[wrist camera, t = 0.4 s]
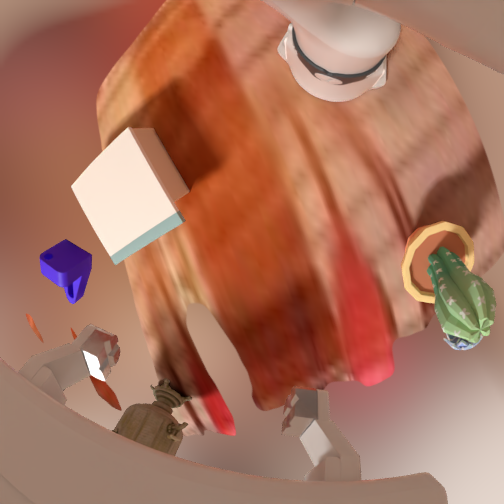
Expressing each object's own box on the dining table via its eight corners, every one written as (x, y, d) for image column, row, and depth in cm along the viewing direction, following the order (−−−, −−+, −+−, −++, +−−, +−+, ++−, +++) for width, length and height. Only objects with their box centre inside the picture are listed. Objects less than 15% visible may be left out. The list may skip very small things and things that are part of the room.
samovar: (230, 418, 80) (195, 518, 44) (170, 415, 88) (130, 496, 52) (187, 361, 70) (123, 481, 34) (126, 362, 78) (64, 451, 43)
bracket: (65, 239, 63) (36, 256, 52) (91, 254, 62) (62, 275, 52) (67, 287, 71) (44, 307, 60) (92, 303, 70) (68, 326, 60)
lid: (74, 185, 46) (70, 186, 45) (131, 126, 39) (127, 126, 38) (118, 262, 51) (115, 265, 50) (185, 220, 44) (182, 222, 43)
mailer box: (99, 176, 53) (76, 183, 46) (153, 127, 46) (130, 128, 39) (130, 231, 57) (109, 244, 50) (190, 191, 50) (171, 201, 43)
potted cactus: (375, 264, 48) (411, 357, 26) (414, 193, 41) (490, 248, 19) (430, 292, 48) (475, 378, 26) (468, 231, 41) (540, 296, 19)
